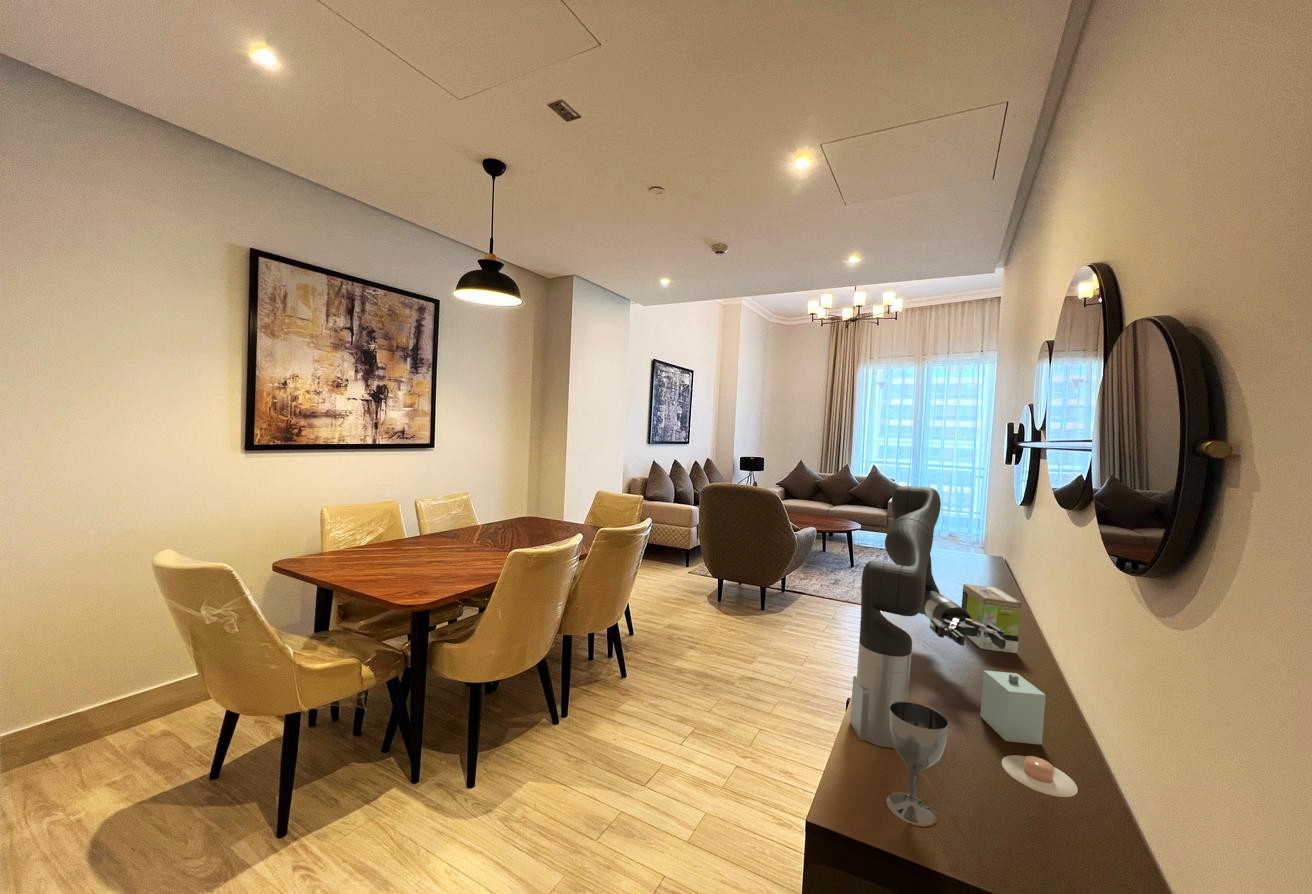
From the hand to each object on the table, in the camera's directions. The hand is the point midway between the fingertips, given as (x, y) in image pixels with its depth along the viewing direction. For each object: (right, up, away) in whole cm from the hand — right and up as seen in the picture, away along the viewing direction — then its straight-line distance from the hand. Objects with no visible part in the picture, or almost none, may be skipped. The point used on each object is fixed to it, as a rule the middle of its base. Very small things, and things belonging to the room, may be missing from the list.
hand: (983, 642), depth 111 cm
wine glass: (-33, -13, -33) cm, 49 cm away
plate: (-7, -14, -25) cm, 29 cm away
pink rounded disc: (-7, -13, -25) cm, 29 cm away
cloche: (-2, -13, -11) cm, 17 cm away
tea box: (+25, -14, +37) cm, 47 cm away
